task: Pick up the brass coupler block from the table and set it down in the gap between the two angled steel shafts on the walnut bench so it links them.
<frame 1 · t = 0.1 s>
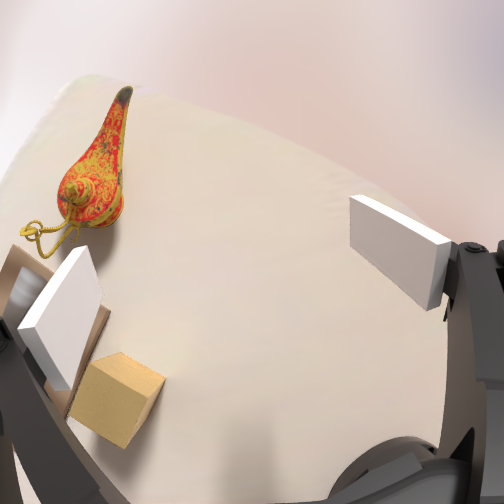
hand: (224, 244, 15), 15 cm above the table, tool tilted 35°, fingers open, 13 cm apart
coupler: (133, 386, 26), on the table
shaft bench: (23, 364, 25), on the table
magic lamp: (108, 191, 30), on the table
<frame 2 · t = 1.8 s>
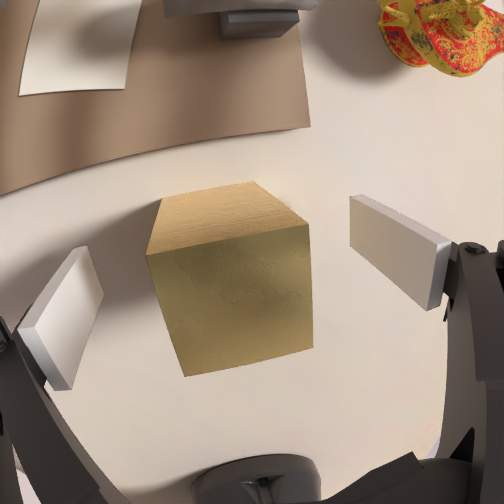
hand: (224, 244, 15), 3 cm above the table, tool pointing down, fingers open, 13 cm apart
coupler: (215, 232, 17), on the table
shaft bench: (85, 41, 12), on the table
magic lamp: (424, 34, 15), on the table
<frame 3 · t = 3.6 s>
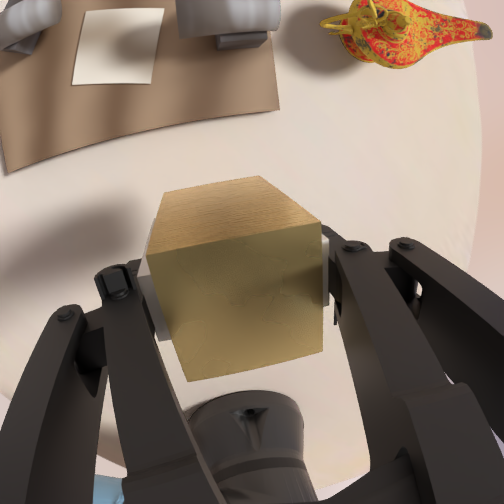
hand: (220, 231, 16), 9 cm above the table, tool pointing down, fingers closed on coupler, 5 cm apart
coupler: (219, 228, 17), point 8 cm above the table, touching gripper
shaft bench: (120, 48, 18), on the table
magic lamp: (378, 35, 21), on the table
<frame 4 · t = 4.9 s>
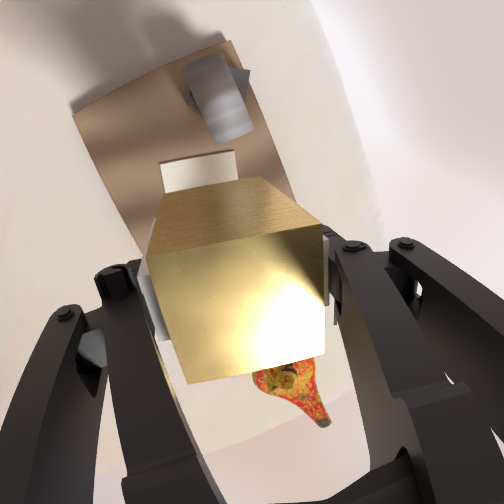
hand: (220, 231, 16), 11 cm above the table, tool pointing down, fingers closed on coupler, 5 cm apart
coupler: (219, 229, 17), point 11 cm above the table, touching gripper
shaft bench: (201, 189, 26), on the table
magic lamp: (280, 355, 36), on the table
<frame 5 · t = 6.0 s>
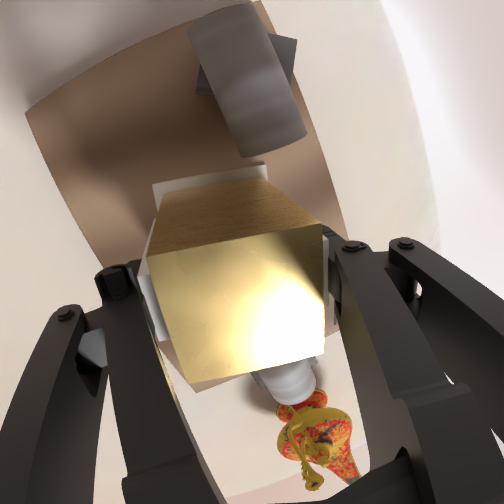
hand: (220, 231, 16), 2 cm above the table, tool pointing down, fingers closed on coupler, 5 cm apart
coupler: (219, 229, 17), point 2 cm above the table, touching gripper
shaft bench: (215, 220, 18), on the table
magic lamp: (308, 412, 28), on the table
when the fingers open (2 cm above the table, at t = 6.2 s): coupler stays where it is, resting on shaft bench.
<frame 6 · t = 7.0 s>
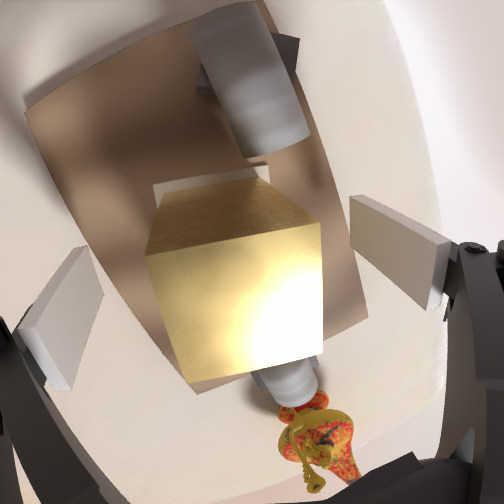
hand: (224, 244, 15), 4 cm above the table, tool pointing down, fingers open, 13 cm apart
coupler: (218, 229, 17), point 1 cm above the table, touching shaft bench
shaft bench: (216, 221, 18), on the table
magic lamp: (309, 413, 27), on the table
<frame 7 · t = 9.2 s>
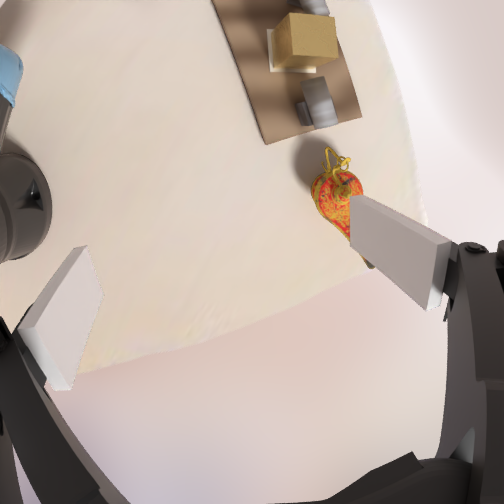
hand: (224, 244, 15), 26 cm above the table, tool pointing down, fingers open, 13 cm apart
coupler: (291, 50, 33), point 1 cm above the table, touching shaft bench
shaft bench: (288, 52, 34), on the table
magic lamp: (331, 199, 43), on the table
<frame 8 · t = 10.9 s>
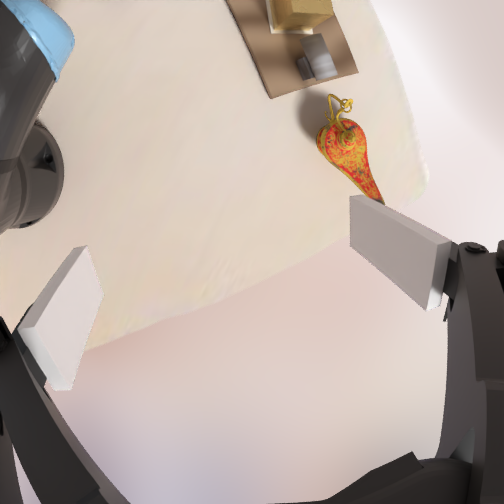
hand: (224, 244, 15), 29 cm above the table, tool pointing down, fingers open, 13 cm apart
coupler: (289, 14, 33), point 1 cm above the table, touching shaft bench
shaft bench: (286, 17, 34), on the table
magic lamp: (336, 150, 44), on the table
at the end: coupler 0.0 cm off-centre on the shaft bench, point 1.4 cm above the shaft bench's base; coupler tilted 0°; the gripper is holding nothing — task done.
